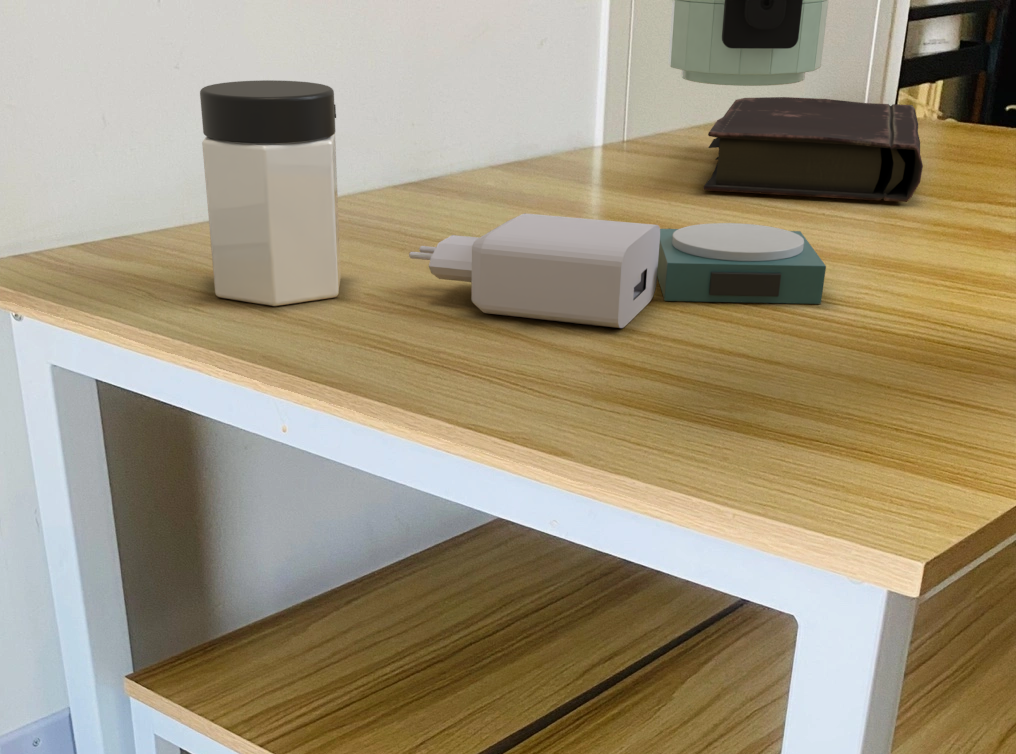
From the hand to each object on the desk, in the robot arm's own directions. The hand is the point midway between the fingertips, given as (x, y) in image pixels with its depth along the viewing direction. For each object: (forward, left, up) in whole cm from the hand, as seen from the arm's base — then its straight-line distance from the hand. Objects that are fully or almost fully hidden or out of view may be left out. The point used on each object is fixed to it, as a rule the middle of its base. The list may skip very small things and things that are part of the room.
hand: (746, 34), depth 62 cm
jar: (+26, -21, -17) cm, 37 cm away
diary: (-16, -66, -17) cm, 70 cm away
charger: (+10, -19, -17) cm, 27 cm away
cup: (0, 0, -2) cm, 2 cm away
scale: (-4, -25, -17) cm, 30 cm away
